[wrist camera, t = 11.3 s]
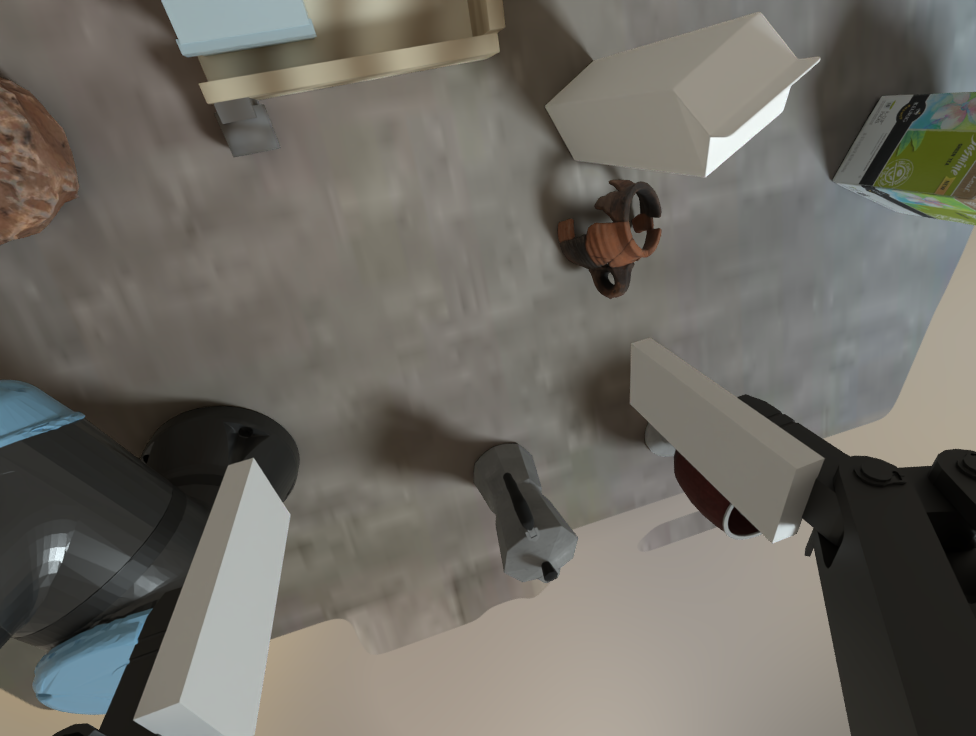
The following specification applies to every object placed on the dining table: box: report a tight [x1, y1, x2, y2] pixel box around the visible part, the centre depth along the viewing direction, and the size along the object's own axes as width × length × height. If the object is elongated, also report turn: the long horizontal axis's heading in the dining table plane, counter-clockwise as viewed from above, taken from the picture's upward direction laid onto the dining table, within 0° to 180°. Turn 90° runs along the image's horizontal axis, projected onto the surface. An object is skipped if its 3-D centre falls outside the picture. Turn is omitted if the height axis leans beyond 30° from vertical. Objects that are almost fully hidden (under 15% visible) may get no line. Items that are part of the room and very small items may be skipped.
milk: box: [545, 12, 820, 177], centre depth 31 cm, size 6×6×22 cm
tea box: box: [832, 92, 976, 225], centre depth 47 cm, size 15×10×15 cm
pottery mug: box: [558, 180, 661, 299], centre depth 45 cm, size 12×10×8 cm
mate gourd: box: [645, 423, 762, 539], centre depth 58 cm, size 16×14×20 cm
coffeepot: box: [474, 444, 578, 583], centre depth 52 cm, size 15×9×18 cm, turn 18°
